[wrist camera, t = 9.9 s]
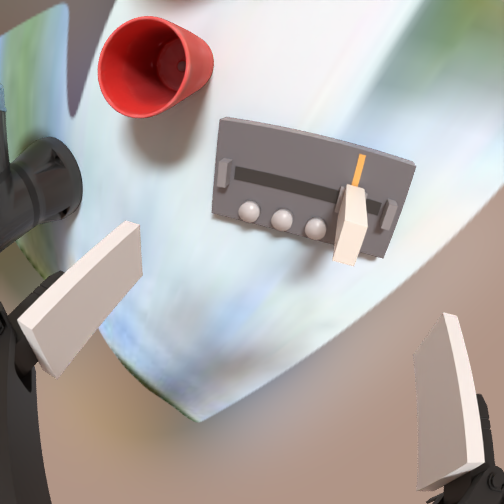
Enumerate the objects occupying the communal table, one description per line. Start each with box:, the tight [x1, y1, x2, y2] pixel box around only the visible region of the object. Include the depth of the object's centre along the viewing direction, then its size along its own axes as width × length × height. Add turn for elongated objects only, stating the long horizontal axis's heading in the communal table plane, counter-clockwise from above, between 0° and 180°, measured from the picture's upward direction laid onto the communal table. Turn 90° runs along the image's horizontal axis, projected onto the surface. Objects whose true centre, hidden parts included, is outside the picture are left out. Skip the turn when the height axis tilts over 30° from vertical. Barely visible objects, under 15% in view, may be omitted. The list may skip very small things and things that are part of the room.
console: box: [212, 117, 416, 258], centre depth 35 cm, size 22×12×4 cm, turn 82°
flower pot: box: [98, 16, 214, 118], centre depth 29 cm, size 11×11×10 cm
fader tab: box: [332, 184, 368, 266], centre depth 30 cm, size 3×4×10 cm
